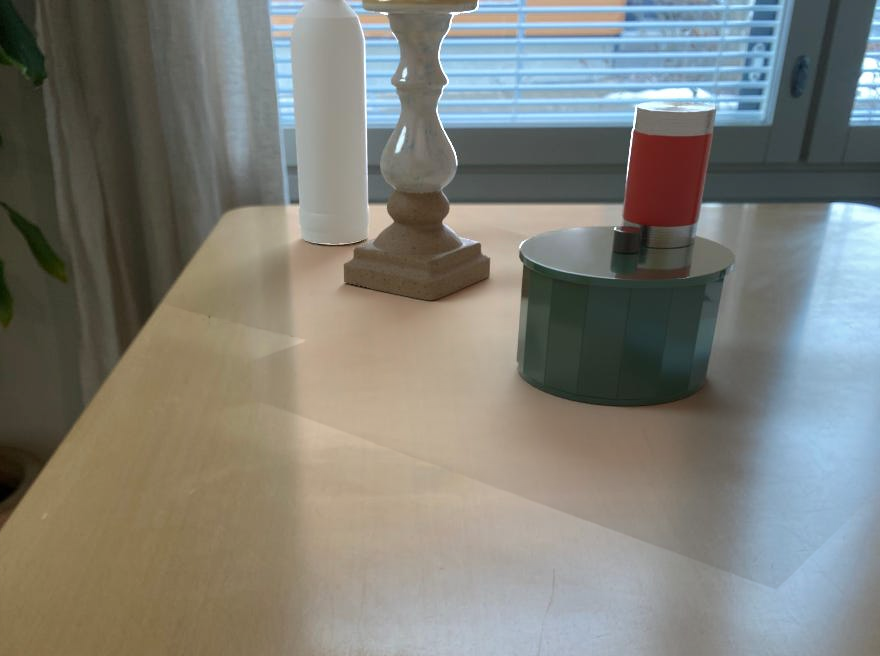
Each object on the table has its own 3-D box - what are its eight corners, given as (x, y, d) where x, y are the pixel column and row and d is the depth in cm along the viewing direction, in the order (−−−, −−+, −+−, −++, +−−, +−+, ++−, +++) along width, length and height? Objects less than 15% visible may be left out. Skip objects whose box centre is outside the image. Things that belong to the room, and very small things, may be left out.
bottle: (382, 240, 112) (379, -87, 94) (323, 249, 108) (308, -88, 91) (345, 226, 117) (336, -85, 100) (288, 235, 113) (267, -86, 96)
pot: (581, 329, 86) (592, 226, 81) (737, 367, 78) (760, 256, 73) (481, 374, 77) (486, 261, 72) (646, 422, 69) (665, 299, 64)
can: (682, 229, 77) (702, 100, 72) (705, 247, 73) (729, 111, 67) (611, 231, 77) (626, 101, 72) (630, 249, 72) (647, 112, 67)
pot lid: (589, 232, 82) (593, 197, 80) (767, 264, 73) (776, 226, 72) (476, 270, 72) (478, 231, 70) (667, 312, 64) (673, 269, 62)
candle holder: (404, 259, 105) (405, -8, 91) (492, 275, 99) (507, -5, 86) (341, 283, 97) (331, -4, 84) (432, 301, 92) (438, -1, 78)
